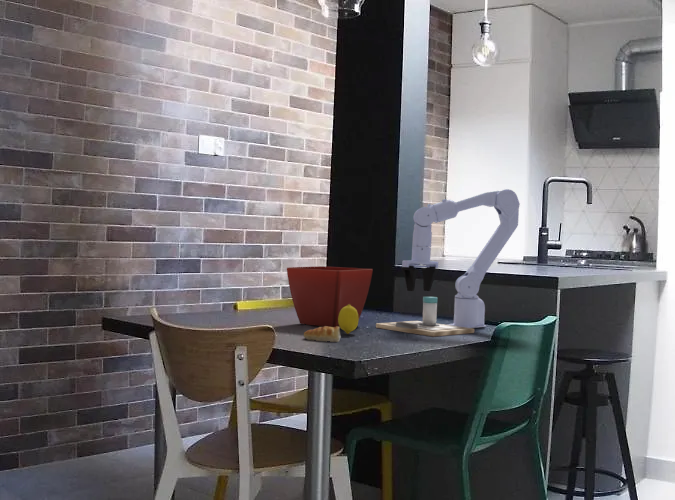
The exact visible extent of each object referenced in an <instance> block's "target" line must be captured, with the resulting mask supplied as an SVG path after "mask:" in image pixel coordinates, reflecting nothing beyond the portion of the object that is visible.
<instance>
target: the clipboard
mask: <svg viewBox="0 0 675 500" xmlns="http://www.w3.org/2000/svg"><path fill="white" fill-rule="evenodd" d="M422 322H423V320H422V321H421V320H409V321H408V320H407V321H394V322H392V321H391V322H379V323H378V322H377V323H375V328H376V329H383V330H389V331H390V330H391V331H394V332H401V333H402V332H403V333H408V334H416V335H421V336H426V337H427V336H428V337H441V336H442V337H445V336H455V335H464V334H465V335H466V334H474V333H475V328H466V327H459V326H451V325H448V324H443V323H437V322H436V325H423V324H422Z"/></svg>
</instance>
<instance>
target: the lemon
mask: <svg viewBox="0 0 675 500" xmlns="http://www.w3.org/2000/svg"><path fill="white" fill-rule="evenodd" d="M359 320H360V318H359V317H358V312H357V310H356V309H355V308H354V307H352V306H351V305H347V306H345V307H343V308H342V309H341V311H340V313H339V317H338V323H339V326H340V327H339V328H340V329H341V330H342V331H344V333H346V334H347V335H349V334H351V332H353V331H355V330H357V329H356V328H357V327H358V325H359Z"/></svg>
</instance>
